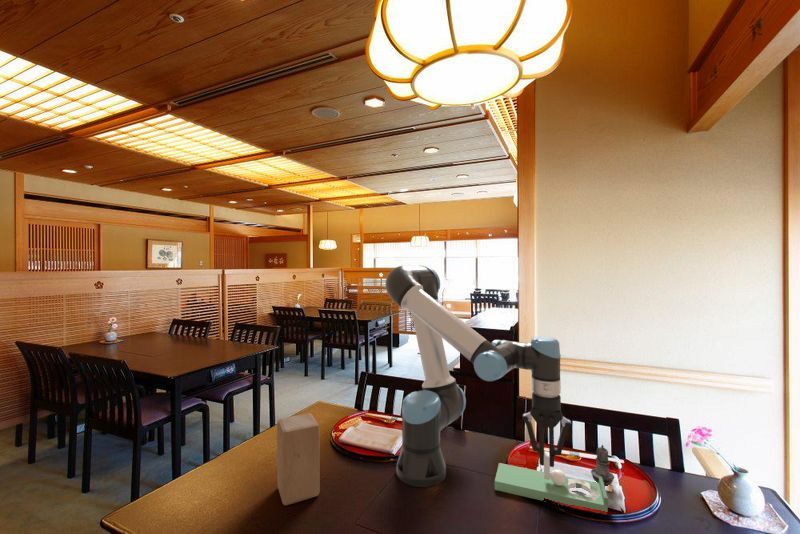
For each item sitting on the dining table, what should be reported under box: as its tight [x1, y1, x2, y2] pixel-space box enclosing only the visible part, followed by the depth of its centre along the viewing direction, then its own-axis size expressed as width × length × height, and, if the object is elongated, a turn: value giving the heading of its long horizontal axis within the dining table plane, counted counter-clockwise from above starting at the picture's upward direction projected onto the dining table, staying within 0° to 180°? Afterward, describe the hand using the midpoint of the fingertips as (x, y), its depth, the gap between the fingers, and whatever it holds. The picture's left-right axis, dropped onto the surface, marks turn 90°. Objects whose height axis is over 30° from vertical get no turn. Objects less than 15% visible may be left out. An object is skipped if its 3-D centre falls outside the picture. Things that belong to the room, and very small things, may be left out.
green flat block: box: [494, 462, 609, 513], centre depth 101 cm, size 28×10×4 cm, turn 68°
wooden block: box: [276, 412, 321, 506], centre depth 101 cm, size 10×10×20 cm
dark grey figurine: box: [590, 444, 615, 486], centre depth 103 cm, size 6×6×12 cm
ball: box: [550, 469, 567, 486], centre depth 100 cm, size 4×4×4 cm
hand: (546, 476), depth 101 cm, fingers closed
